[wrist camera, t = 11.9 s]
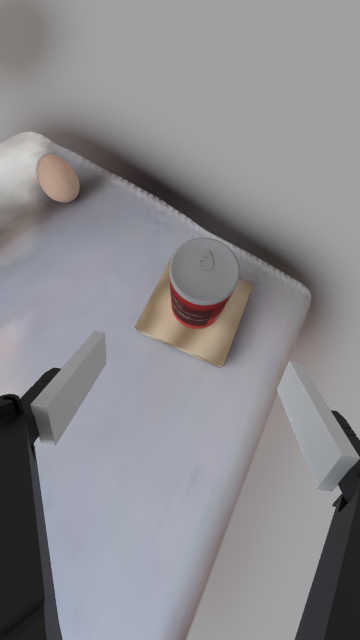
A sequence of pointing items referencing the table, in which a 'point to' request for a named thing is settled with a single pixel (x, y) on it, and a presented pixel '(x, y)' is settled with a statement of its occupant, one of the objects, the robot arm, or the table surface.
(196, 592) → the table surface
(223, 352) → the maple stand
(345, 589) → the robot arm
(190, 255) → the canned food
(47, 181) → the egg
